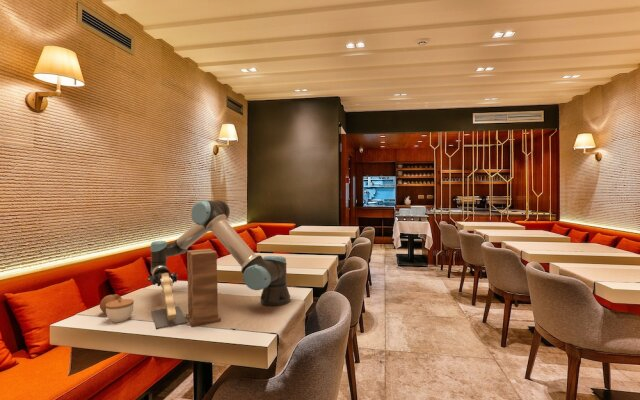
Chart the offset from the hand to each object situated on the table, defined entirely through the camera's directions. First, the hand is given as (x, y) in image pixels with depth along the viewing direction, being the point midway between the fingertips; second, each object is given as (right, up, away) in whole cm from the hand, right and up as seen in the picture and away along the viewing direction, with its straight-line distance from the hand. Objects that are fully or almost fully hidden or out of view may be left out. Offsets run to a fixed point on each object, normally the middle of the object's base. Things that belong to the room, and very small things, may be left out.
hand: (167, 284), depth 151 cm
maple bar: (+1, -6, -1) cm, 6 cm away
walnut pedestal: (+18, -14, -4) cm, 23 cm away
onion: (-28, -15, +5) cm, 33 cm away
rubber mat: (+1, -15, -1) cm, 15 cm away
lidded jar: (-19, -15, -3) cm, 25 cm away
